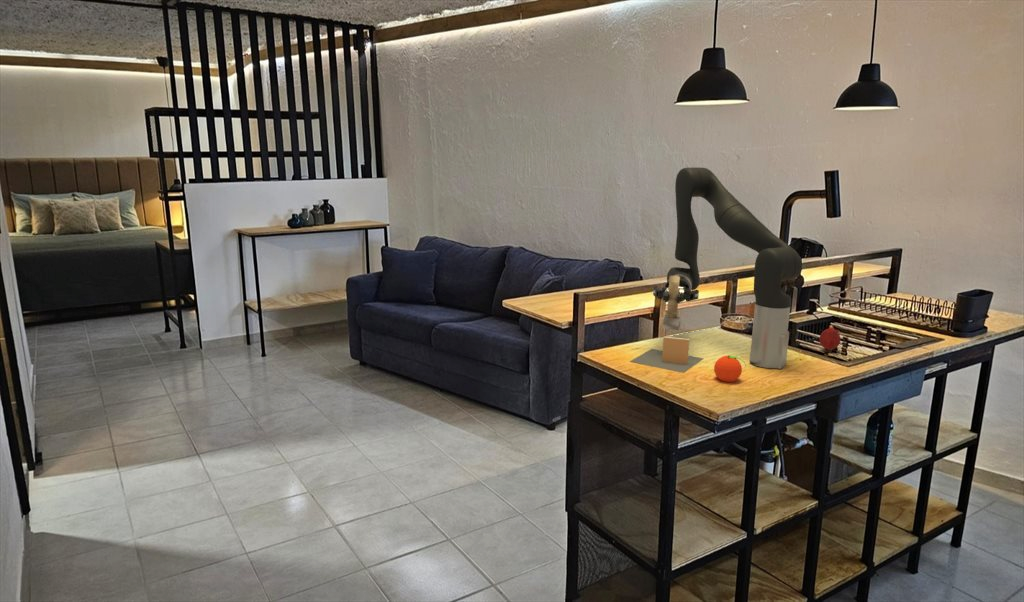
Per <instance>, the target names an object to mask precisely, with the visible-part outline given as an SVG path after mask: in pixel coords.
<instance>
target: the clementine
mask: <svg viewBox="0 0 1024 602" xmlns="http://www.w3.org/2000/svg"><path fill="white" fill-rule="evenodd" d="M738 359H739V360H741V361H742V362H743V363H745V361H744V360H743V359H741V358H739V357H737V356H732V355H723V356H721V357H720V358H718V359H717V360H716V361H715V363H714V366H713V367H714V368H713V372H714V375H715V376H716V378H717V379H719V380H720V381H721V382H725V383H733V382H735V381H737V380H738V379H740V378H741V376H742V372H743V371H742V370H743V367H742V365H741V362H740V361H739V360H738ZM744 365H745V367H746V366H747V365H746V364H744Z"/></svg>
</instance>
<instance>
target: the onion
mask: <svg viewBox="0 0 1024 602" xmlns="http://www.w3.org/2000/svg"><path fill="white" fill-rule="evenodd" d="M819 343H820V345H821V347H823V349H825V350H826V349H827V350H831V351H832V349H833V350H834V349H836V348H837V347H838V346H840V344H841V335H840V333H839V332H838V331H837V330H836V329H835V328H834V325H831V324H830V325H829V327H828V328H827V329H824V330H823V331H822V332H821V333H820V336H819ZM827 350H826V351H827Z"/></svg>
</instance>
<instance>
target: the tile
mask: <svg viewBox="0 0 1024 602" xmlns="http://www.w3.org/2000/svg"><path fill="white" fill-rule="evenodd" d="M689 349H690V338H682V337H673V336H663V339H662V351H663V352H662V361H664V362H672V363H681V364H687V363H688V356H689V351H690V350H689Z"/></svg>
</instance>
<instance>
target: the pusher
mask: <svg viewBox="0 0 1024 602" xmlns="http://www.w3.org/2000/svg"><path fill="white" fill-rule="evenodd" d="M679 281H680V277H679V276H670V279H669V297H668V302H667V311H666V314H665V315H664V316H663V318H662V329H667V330H676V331H679V329H680V326H681V316H680V315H678V310H679V309H678V308H679V305H678V304H679V303H677V296H678V294H679Z"/></svg>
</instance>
